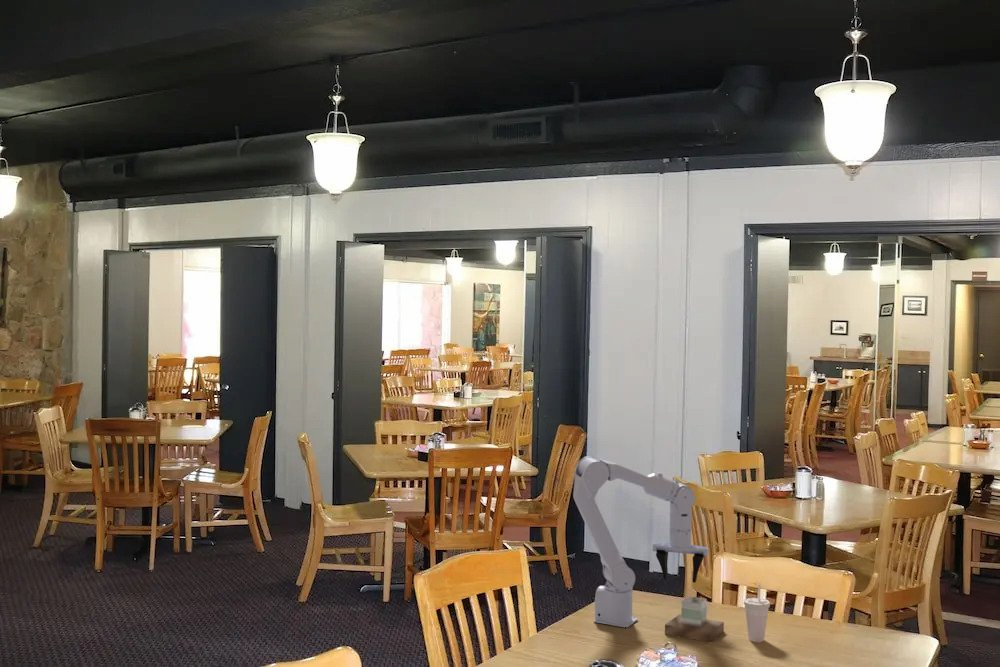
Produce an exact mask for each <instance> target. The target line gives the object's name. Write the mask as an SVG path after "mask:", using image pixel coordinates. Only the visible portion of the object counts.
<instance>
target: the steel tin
mask: <svg viewBox="0 0 1000 667" xmlns="http://www.w3.org/2000/svg"><path fill="white" fill-rule="evenodd" d="M707 602H708V601H707V598H703V597H697V596H688V595H687V596H686V597H685V598H683V600H682V601H681V612H680V615H681V618H682V625H686V626H693V627H700V628H701V627H702V626H703V625H704V624H705V623H706V619H707V615H708V609H707V608H708V606H707Z"/></svg>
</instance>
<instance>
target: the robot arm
mask: <svg viewBox="0 0 1000 667" xmlns="http://www.w3.org/2000/svg"><path fill="white" fill-rule="evenodd" d="M573 474H574V482H573V483H574V484H573V492H572V495H573V500H574V502H575V505H576V507H577V509H578V511H579V513H580V516H581V517H582V520H583V522H584V524H585V526H586V528H587V530H588V533H589V534H590V537H591V538H592V541H593V543H594V546H595V547H596V550H597V552H598V553H599V556H600V562H601V564H602V575H603V577H604V579H606V582H605V584H604V585H599V586H598V587H597V588H596V590H595V595H594V596H595V597H594V619H593V622H594V623H599V624H604V625H609V626H614V627H620V628H625V627H626V628H629V627H630V626H631V625H633V624H634V623H635V622H638V617H634V616H633V588H634V585H635V582H636V575H635V572H634V570H632V568H630V567H629V566H628V565H627V564H626V560H624V558H623V557H622V555H621V553H620V551H619V550H618V547H617V545H616V544H615V541H614V539H613V537H612V534H611V533H610V530H609V528H608V525H607V523H606V522H605V519H604V517H603V515H602V513H601V510H600V509H599V506H598V505H597V504H598V503H597V502H596V496H597V494H598V491H599V490H600V489H601V488H602V487H603V486H604V484H605V483H606V482H607V481H608V482H613V481H614V480H616V479H618V480H622V481H625V482H627V483H631V484H633V485H636V486H640V487H642V488H643V490H644V493H645V494H646V495H649V496H652V497H655V498H657V499H660V500H663V501H665V502H669V542H653V543H652V552H656V553H655V557H656V558H657V560H658V563H659V566H660V569H661V571H662V578H663V580H664V581H665V580H667V579H668V576H669V574H668V573H669V572H668V571H669V570H668V558H669V553H676V554H685V555H686V554H688V555H693V556H692V583H696V582H697V579H698V573H699V569H700V567H701V564H702V562H703V560H704V558H705V557H708V556H709V547H708V546H701V545H695V544H692V527H693V526H692V520H693V519H692V518H693V517H692V516H693V515H692V513H693V512H692V508H693V507H692V506H693V505H694V503H695V501H696V496H695V493H694V490H693V489H692V488H691V487H690V486H688V485H685V484H684V483H682V482H680V481H679V480H678V479H675V478H674V479H673V480H672V479H669V478H668V477H665V476H664V475H663V473H660V472H658V471H657V472H656V473H655V472H652V473H649V474H648V475H647V474H646V475H645V474H643V473H640V472H638V471H635V470H633V469H631V468H628V467H626V466H624V465H622V464H619V463H616V462H614V461H609V460H605V459H604V458H603V459H601V458H598V459H597V458H596V457H594V456H584V457H582V458H581V459H580V460H579V461H578V463H577V465H576V467H575V469H574V473H573ZM626 628H625V629H626Z"/></svg>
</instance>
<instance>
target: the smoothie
mask: <svg viewBox="0 0 1000 667" xmlns="http://www.w3.org/2000/svg"><path fill="white" fill-rule="evenodd" d="M743 605H744V610H745V618H746V627H747V636H748V640H749V641H750V642H753V643H763V642H765V636H766V628H767V620H768V613H769V608H770V607H771V606H770V605H771V604H770V601H769V600H768V599H766V598H762V597H761V583H758V584H757V597H746V598H744V599H743ZM762 641H763V642H762Z"/></svg>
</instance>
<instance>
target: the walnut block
mask: <svg viewBox="0 0 1000 667" xmlns="http://www.w3.org/2000/svg"><path fill="white" fill-rule="evenodd" d="M724 624H725V622H724V621H718V620H712V619H707V618H706V623H705V624H704V625H703V626H702V627H701V628H700V627H693V626H686V625H682V618H681V614H678V615H677V616H675V617H673V618H672V619H671V620H669V621H667V622H666V623H665V624H664V635H666V634H668V635H667V636H672V635H673V637H677V636H679V637H678V638H682V637H684V638H683V639H688V638H690V639H689V640H693V639H696V640H695V641H698V640H701V641H700V642H704V641H705V643H709V642H711V643H712V642H714V641H715V640H716V639H717V638H718V637H719V636H721V635H722V634H723V633H724V632H725V629H724V628H725V627H724V626H725V625H724ZM715 638H716V639H715Z"/></svg>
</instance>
